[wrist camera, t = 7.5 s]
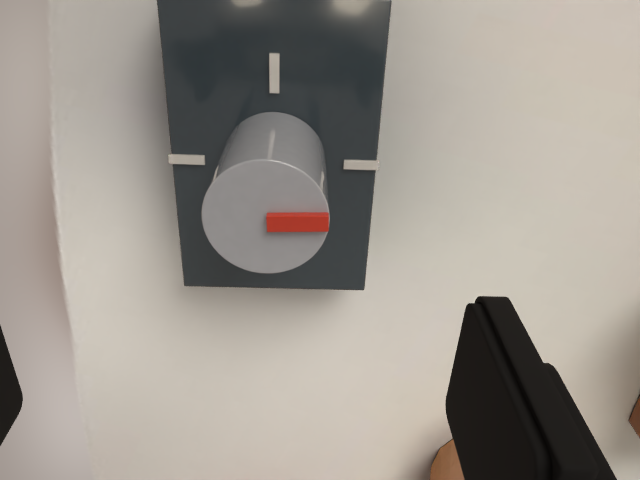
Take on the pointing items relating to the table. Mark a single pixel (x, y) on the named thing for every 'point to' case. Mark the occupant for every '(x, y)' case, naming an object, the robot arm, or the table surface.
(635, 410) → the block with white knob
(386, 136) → the table surface
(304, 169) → the tap knob
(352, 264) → the panel
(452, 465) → the potted plant
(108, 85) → the table surface
